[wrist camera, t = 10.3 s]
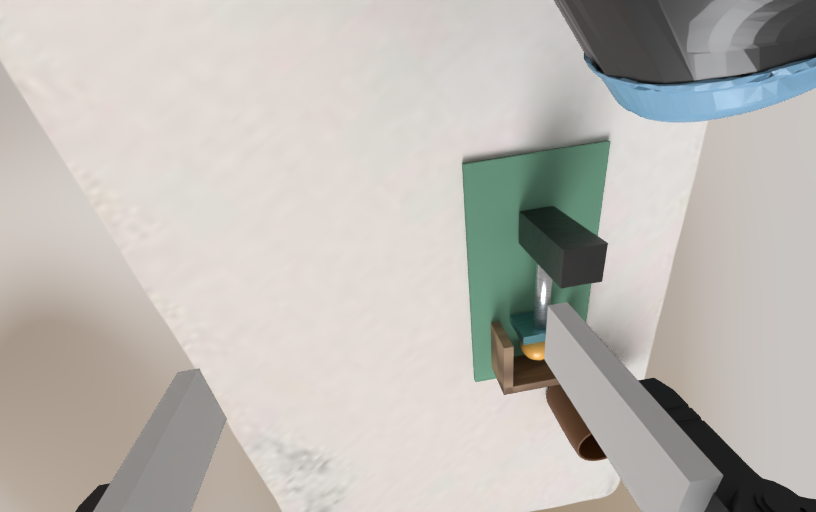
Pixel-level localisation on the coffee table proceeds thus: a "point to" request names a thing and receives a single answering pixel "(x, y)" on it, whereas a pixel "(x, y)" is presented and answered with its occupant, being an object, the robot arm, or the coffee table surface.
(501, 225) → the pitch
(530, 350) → the ball
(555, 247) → the rod
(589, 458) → the mug
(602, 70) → the robot arm
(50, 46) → the coffee table surface
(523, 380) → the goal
